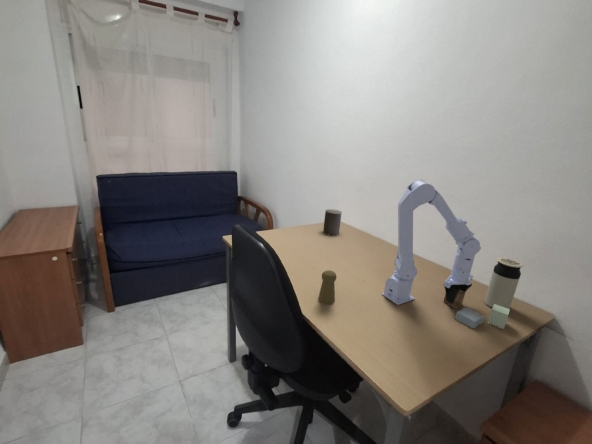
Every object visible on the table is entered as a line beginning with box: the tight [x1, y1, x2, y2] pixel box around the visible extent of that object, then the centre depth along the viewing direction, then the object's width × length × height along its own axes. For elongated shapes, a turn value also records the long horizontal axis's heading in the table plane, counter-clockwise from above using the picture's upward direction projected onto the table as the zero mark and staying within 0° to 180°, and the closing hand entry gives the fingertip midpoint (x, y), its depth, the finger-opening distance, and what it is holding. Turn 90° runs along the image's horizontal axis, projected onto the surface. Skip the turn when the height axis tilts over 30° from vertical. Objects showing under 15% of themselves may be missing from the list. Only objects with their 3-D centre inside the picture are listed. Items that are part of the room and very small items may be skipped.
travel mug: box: [483, 257, 524, 309], centre depth 107 cm, size 8×8×18 cm
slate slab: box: [455, 307, 485, 329], centre depth 99 cm, size 6×6×3 cm
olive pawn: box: [317, 269, 337, 305], centre depth 104 cm, size 6×6×11 cm
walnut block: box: [442, 290, 466, 309], centre depth 108 cm, size 4×4×6 cm
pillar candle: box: [322, 208, 343, 236], centre depth 175 cm, size 10×10×15 cm
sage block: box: [487, 304, 511, 330], centre depth 98 cm, size 4×4×6 cm
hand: (453, 300), depth 108 cm, fingers closed on walnut block, 4 cm apart
